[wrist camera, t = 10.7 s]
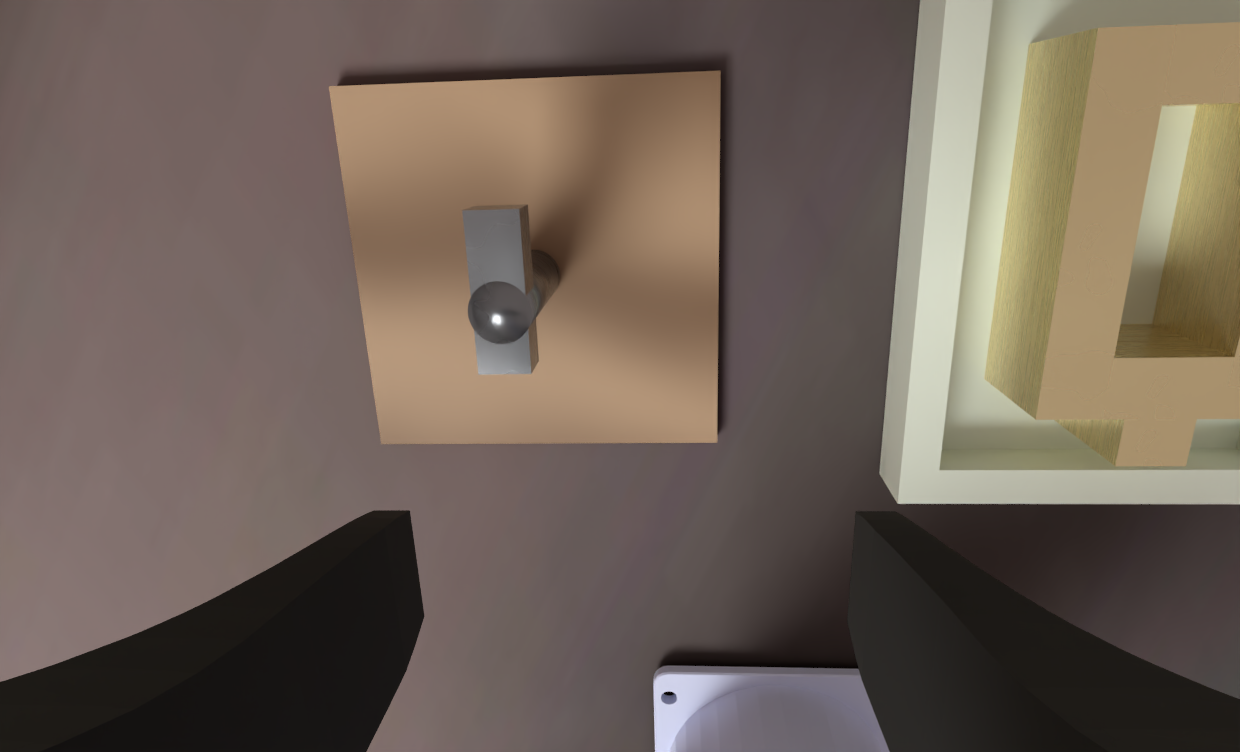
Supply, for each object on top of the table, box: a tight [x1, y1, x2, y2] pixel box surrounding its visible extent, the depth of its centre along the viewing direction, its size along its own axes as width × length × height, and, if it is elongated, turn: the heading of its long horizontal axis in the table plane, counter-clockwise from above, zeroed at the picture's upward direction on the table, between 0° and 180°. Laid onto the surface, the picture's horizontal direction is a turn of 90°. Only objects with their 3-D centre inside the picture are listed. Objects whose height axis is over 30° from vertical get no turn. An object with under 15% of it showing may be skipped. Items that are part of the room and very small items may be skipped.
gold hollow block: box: [984, 22, 1240, 466], centre depth 17 cm, size 6×10×3 cm, turn 2°
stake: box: [462, 204, 560, 375], centre depth 18 cm, size 4×1×4 cm, turn 2°
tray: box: [879, 0, 1240, 504], centre depth 18 cm, size 14×10×2 cm
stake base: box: [329, 71, 721, 444], centre depth 20 cm, size 10×10×1 cm
